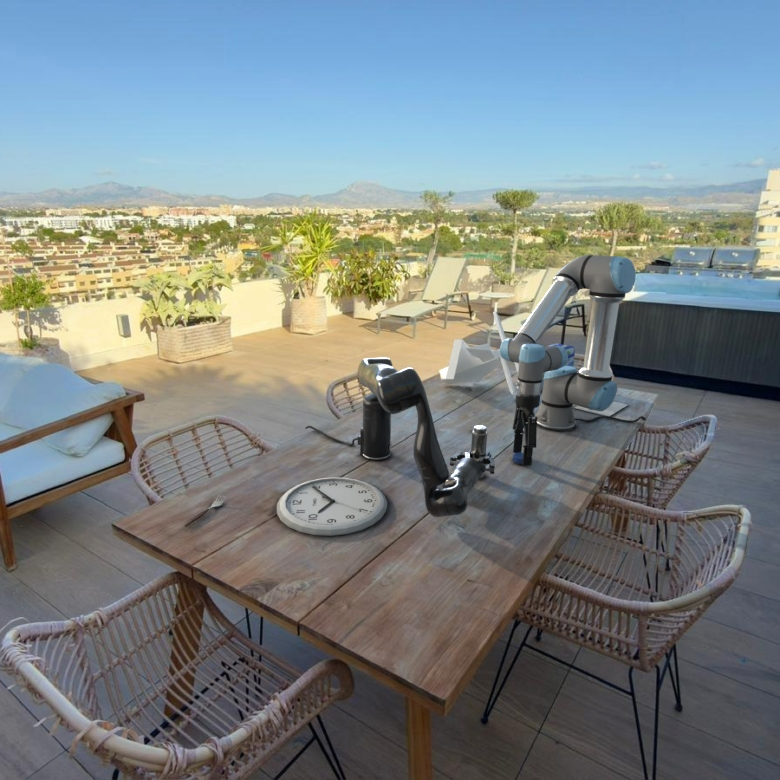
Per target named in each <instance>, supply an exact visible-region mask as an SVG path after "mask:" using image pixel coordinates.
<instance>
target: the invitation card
mask: <svg viewBox="0 0 780 780" xmlns="http://www.w3.org/2000/svg"><path fill="white" fill-rule="evenodd" d="M628 406H629V404H627V403H623V402H618V401H614V400H613V402H612V404H611V405H610V406H609V407H608V408H607V409H606V410H604V411H596V410H590V409H588V408H585V407H581V406H578V405H575V406H574V407H573V409H575V410H581V411H584V412H587V413H593V414H596V415H600V416H609V417H612V416H613V415H614V414H616V413H617V412H619V411H621V410H623V409H624V408H626V407H628Z"/></svg>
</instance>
